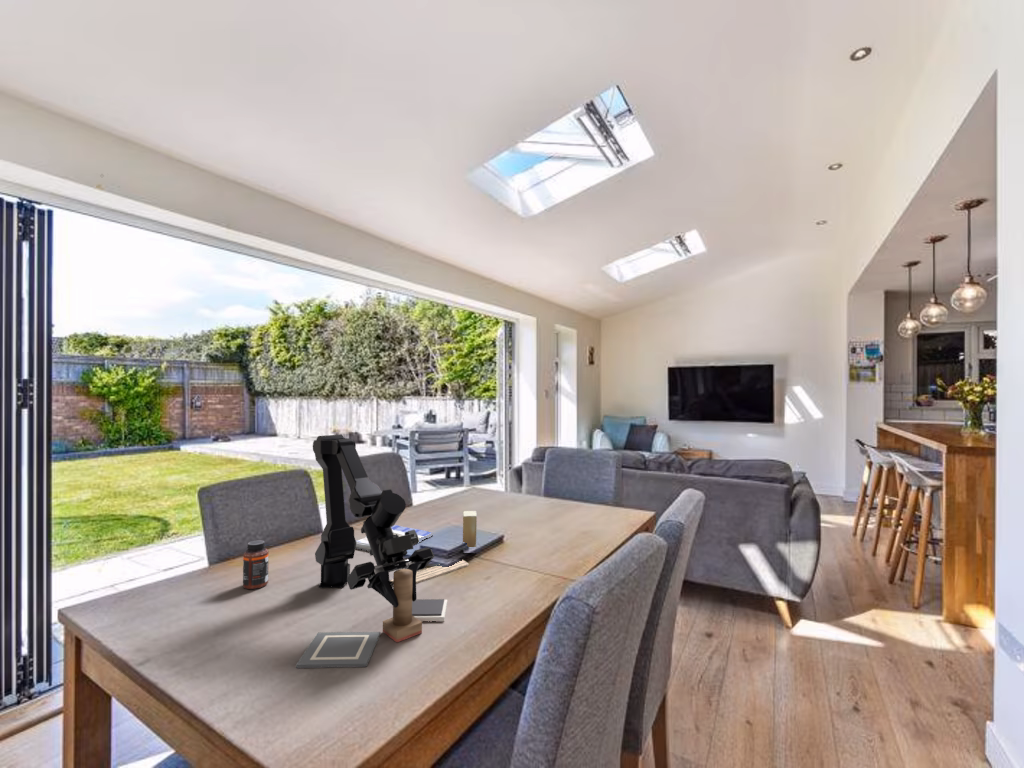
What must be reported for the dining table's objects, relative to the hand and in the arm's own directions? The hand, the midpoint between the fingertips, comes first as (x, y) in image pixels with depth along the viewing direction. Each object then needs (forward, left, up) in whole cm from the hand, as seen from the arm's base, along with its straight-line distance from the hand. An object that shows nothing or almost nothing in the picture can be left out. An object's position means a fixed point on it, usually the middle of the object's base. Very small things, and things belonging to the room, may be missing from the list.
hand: (406, 603), depth 104 cm
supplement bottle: (-43, +27, -7) cm, 51 cm away
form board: (-12, -6, -7) cm, 15 cm away
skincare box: (+12, +53, -7) cm, 55 cm away
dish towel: (-14, +63, -7) cm, 65 cm away
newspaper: (+1, +34, -8) cm, 35 cm away
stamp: (-1, +1, -7) cm, 7 cm away
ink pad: (+3, +10, -7) cm, 13 cm away
